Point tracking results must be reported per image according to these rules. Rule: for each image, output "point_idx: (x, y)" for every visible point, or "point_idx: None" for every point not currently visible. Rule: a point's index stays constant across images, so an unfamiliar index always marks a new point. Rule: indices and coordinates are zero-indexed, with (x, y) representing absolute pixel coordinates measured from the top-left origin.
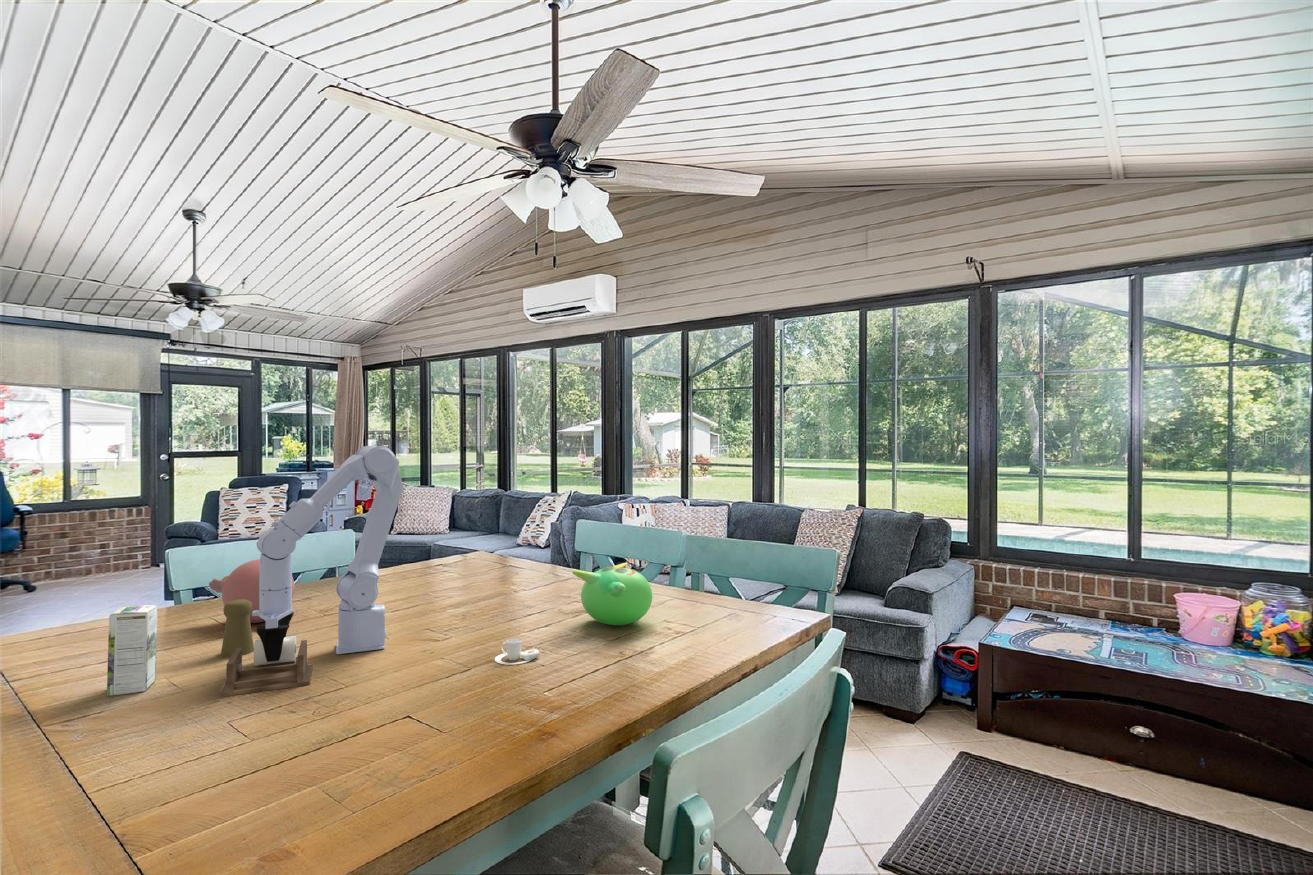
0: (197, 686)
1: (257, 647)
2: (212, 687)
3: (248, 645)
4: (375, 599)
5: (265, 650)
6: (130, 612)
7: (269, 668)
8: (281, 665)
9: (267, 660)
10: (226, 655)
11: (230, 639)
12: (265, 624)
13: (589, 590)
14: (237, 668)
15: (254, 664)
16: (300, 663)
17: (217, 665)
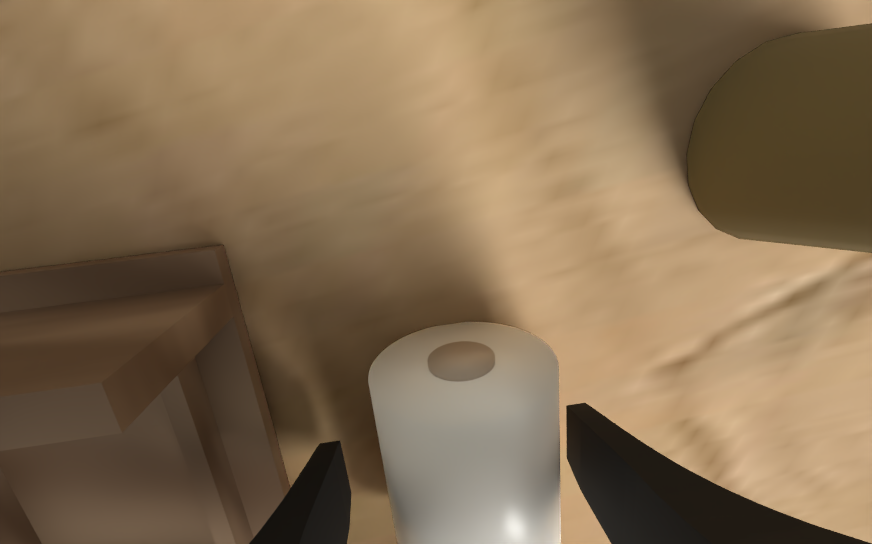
0: (76, 79)
1: (392, 430)
2: (46, 191)
3: (762, 231)
4: None
5: (282, 507)
6: None
7: (197, 480)
8: (226, 531)
9: (314, 452)
10: (717, 92)
11: (833, 107)
12: (707, 540)
13: None
14: None
15: (395, 342)
16: None
17: (530, 85)
